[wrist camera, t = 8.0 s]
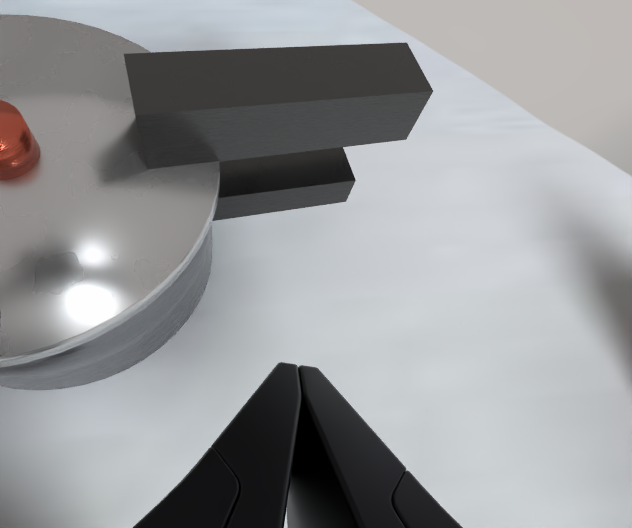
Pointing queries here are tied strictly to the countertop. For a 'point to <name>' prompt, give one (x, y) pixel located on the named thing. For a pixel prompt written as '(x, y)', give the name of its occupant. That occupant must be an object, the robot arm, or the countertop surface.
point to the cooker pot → (194, 266)
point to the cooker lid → (152, 158)
